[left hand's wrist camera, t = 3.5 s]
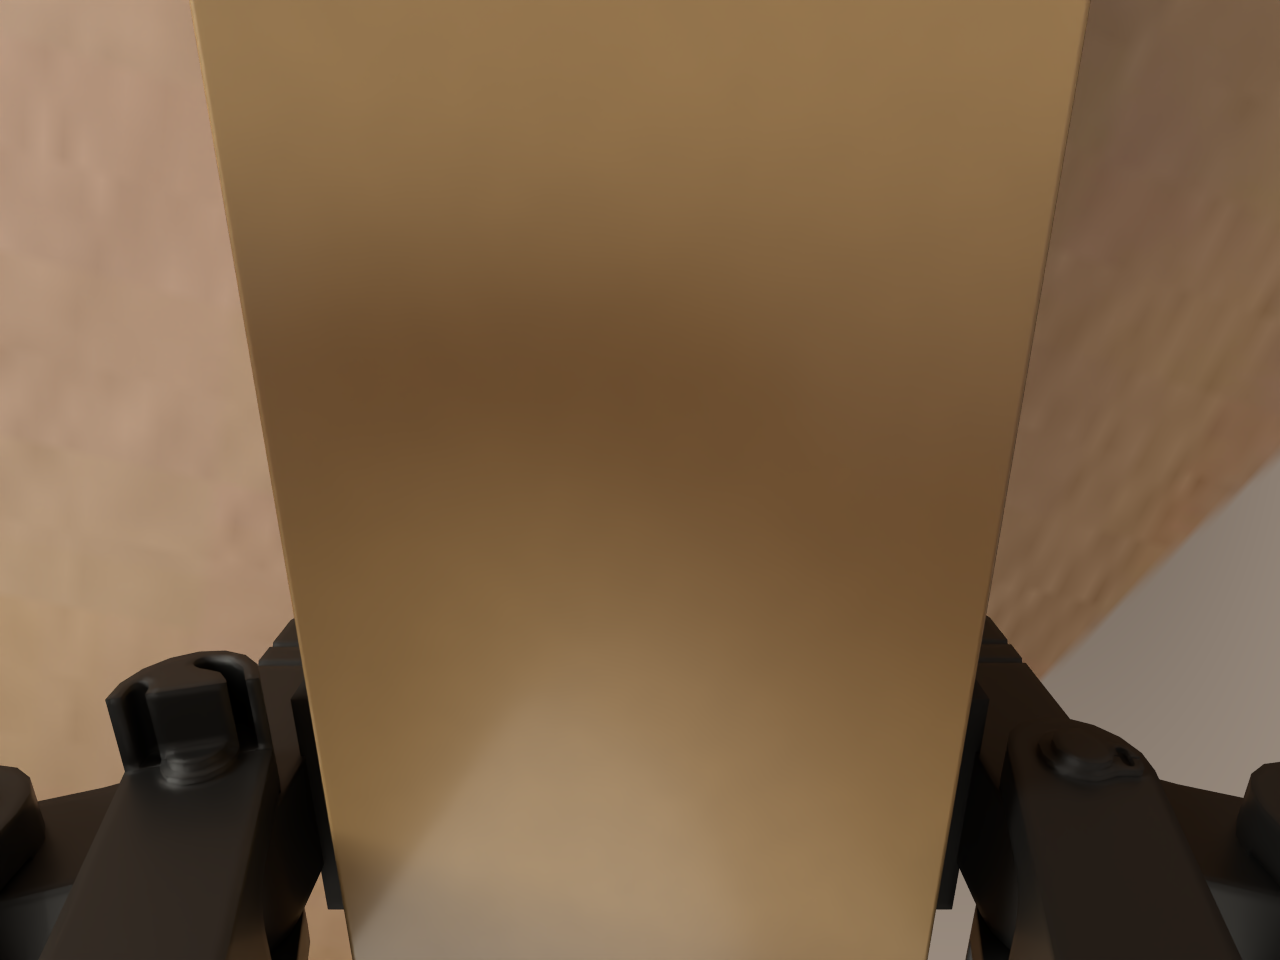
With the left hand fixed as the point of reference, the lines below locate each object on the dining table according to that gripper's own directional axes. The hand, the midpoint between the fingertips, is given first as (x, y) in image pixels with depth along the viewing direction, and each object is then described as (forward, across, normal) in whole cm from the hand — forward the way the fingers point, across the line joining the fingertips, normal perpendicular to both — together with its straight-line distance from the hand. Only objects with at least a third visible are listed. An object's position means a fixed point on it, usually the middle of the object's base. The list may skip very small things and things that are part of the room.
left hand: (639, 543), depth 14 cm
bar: (+1, 0, -8) cm, 8 cm away
